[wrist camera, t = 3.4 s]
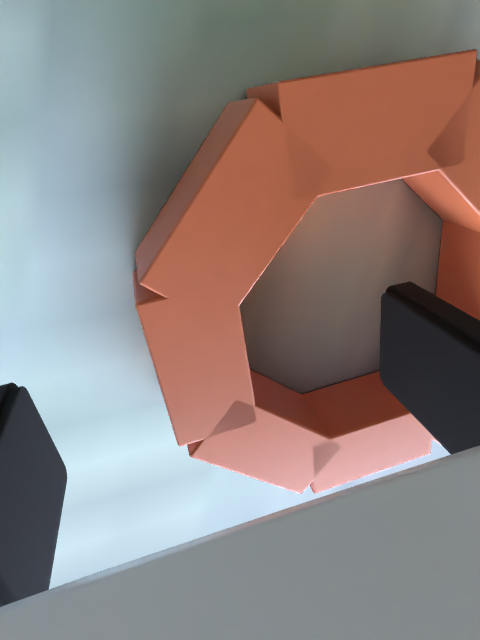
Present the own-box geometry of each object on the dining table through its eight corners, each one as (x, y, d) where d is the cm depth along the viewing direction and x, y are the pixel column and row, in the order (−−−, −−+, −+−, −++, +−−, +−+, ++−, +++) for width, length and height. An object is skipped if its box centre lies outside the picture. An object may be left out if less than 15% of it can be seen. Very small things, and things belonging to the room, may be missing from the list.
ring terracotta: (192, 476, 15) (204, 533, 13) (86, 115, 9) (77, 114, 7) (473, 386, 17) (521, 422, 15) (531, 41, 11) (622, 25, 9)
